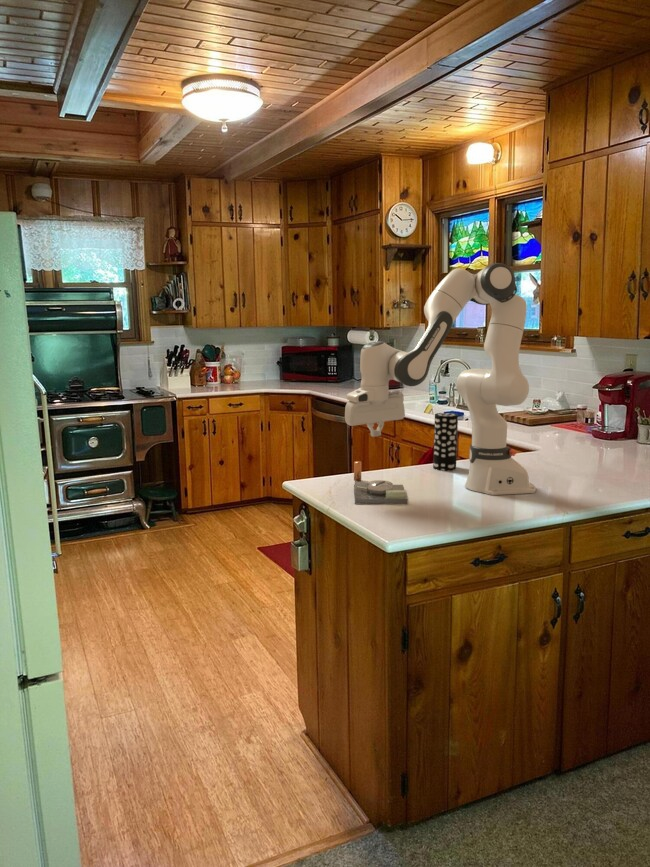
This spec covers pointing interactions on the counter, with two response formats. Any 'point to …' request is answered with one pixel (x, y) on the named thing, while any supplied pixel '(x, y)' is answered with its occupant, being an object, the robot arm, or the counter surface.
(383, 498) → the plate
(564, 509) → the counter surface
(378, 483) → the copper silver knob
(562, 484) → the counter surface
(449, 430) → the spotted tube
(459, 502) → the counter surface
